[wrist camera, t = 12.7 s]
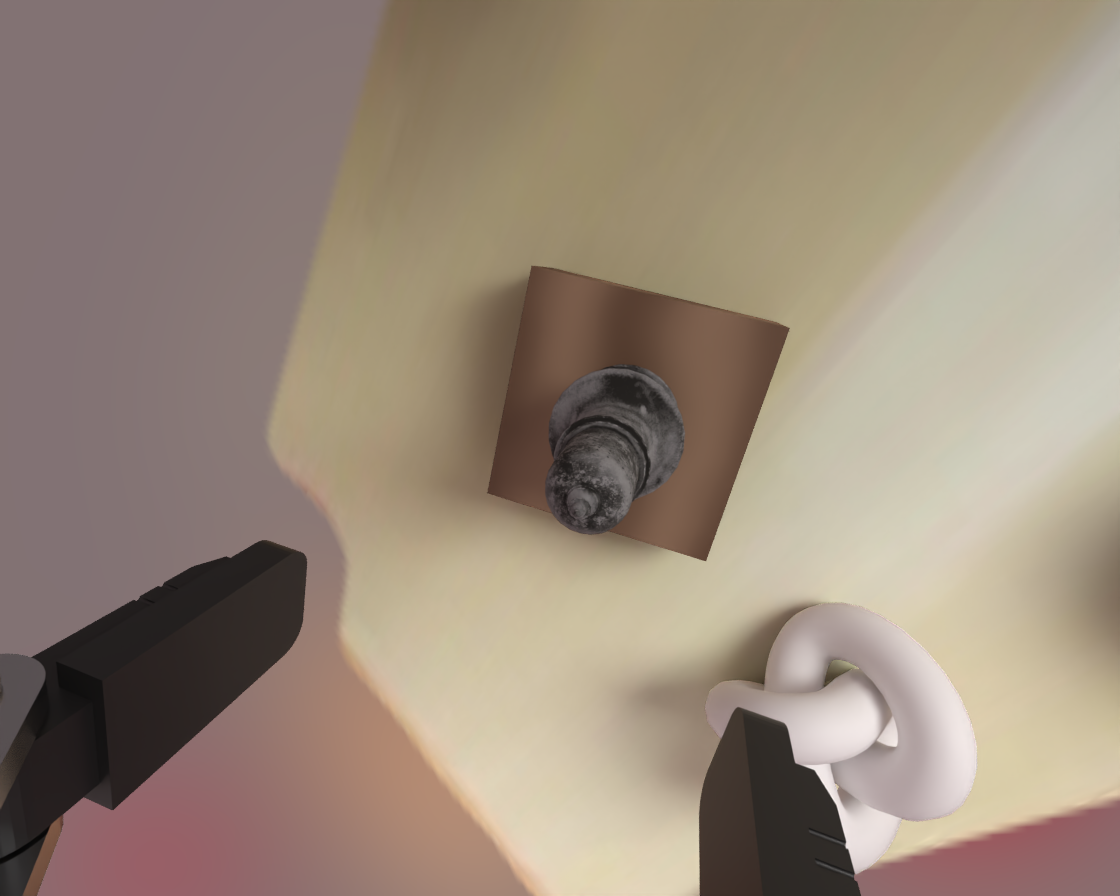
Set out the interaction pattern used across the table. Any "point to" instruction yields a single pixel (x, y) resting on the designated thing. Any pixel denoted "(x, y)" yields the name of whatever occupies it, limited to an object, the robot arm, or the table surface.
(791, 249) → the table surface
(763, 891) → the robot arm
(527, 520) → the table surface
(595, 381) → the salt shaker
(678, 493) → the walnut base
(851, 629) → the white knot sculpture
